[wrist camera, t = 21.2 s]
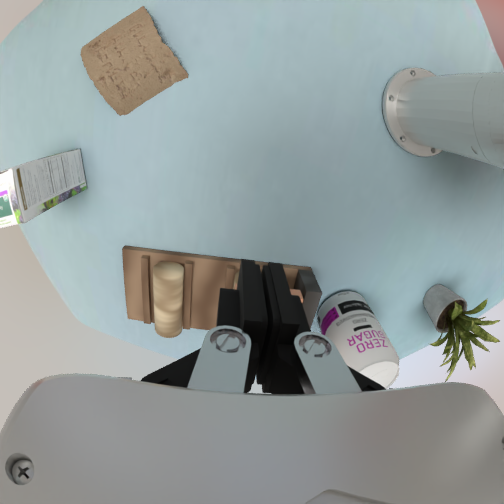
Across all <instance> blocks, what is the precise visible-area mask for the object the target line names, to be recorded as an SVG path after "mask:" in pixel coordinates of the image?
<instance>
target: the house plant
mask: <svg viewBox="0 0 504 504" xmlns="http://www.w3.org/2000/svg"><path fill="white" fill-rule="evenodd" d="M423 304H424V306H425V308H426V310H427V312H428V314H429V316H430V318H431V320H432V322H433V324H434V326H435V328H436V330H437V331H438V332H440V333H446V332H448V333H447V335H446V336H445V337H444V338H442V339H441V336H442V334H441V336H440V338H439V339H438V340H437V341H436V342H434V343H433V344H430V345H432V346H439V345H441V344H442V343H444V342H445V341H446V339H447V338H448V341H447V344H446V347H445V349H444V353H443V354H446V353H447V355H446V358H445V359H444V361H445V360H446V359H447V357H448V356H449V353H450V350H451V348H452V346H453V351H452V352H451V353H453V355H452V356H451V358H450V359H449V360H448V361H446V362H445V363H443V364H442V365H441V366H443V365H445V364H447V363H449V362H450V361H451V360H452V362H451V366H450V368H449V369H448V371H449V370H450V369H451V371H450V373H449V375H448V377H447V379H446V381H447V380H448V378H449V377H450V375H451V374H452V372H453V370H454V368H455V366H456V363H457V361H458V360H459V358H460V356H461V354H462V352H463V350H464V354H465V358H466V360H467V361H468V363H469V367H470V370H471V369H472V366H474V367H476V366H475V360H474V357H473V351H472V347H471V344H470V340H471V341H472V342H473V343H474V344H475V345H476V346H478V347H480V348H482V349H484V350H485V351H488V349H487V348H486V347H485V346H484V345H482V344H481V343H480V342H479V341H478V340H477V339H476V338H475V337H479V338H481V339H482V340H484V341H490V342H495V343H496V342H500V341H499V340H498V339H496V338H495V337H493V336H492V335H491V334H489V333H488V332H486V331H485V330H484V329H482V328H481V327H480V326H477V325H492V324H495V323H497V322H499V321H500V320H496V321H481V320H480V319H483V318H485V317H483V318H480V319H478V318H472V317H468V316H466V315H465V314H475V313H477V312H479V311H481V310H483V309H484V307H485V306H486V304H487V300H485V301H483V302H482V303H481V304H480V305H478V306H477V307H476V308H474V309H473V310H470V311H466V310H467V303H466V301H465V299H463V298H462V297H460V296H458V295H457V294H455V293H454V292H452V291H451V290H449V289H447V288H446V287H444V286H443V285H440V284H437V285H434V286H433V287H431V288H430V289H429V290H428V291H427V293H426V294H425V296H424V300H423ZM454 329H455V336H454ZM470 331H472V332H473V333H474V334H473V333H471V332H470ZM455 337H456V342H455ZM440 339H441V340H440ZM460 339H461V342H462V349H461V352H460V355H459V357H458V353H459V344H460ZM469 339H470V340H469ZM428 344H429V343H428ZM444 361H443V362H444ZM446 381H445V382H446Z"/></svg>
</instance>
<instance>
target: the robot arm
mask: <svg viewBox="0 0 504 504" xmlns="http://www.w3.org/2000/svg"><path fill="white" fill-rule="evenodd" d="M410 73H411V74H410ZM388 97H389V98H390V100H389V98H388ZM382 108H383V116H384V119H385V123H386V126H387V128H388V130H389V132H390V134H391V136H392V137H393V139H394V140H395V141H396V142H397V144H398V145H399V146H400V147H402V148H403V149H404V150H406V151H407V152H409V153H411V154H414V155H417V156H422V157H429V156H434V155H437V154H439V153H440V152H442V151H447V152H451V153H454V154H458V155H461V156H465V157H468V158H472V159H475V160H478V161H481V162H484V163H487V164H490V165H493V166H496V167H499V168H502V169H504V73H468V74H453V75H442V76H436V75H434V74H433V73H431V72H430V71H427V70H425V69H422V68H408V69H404V70H401V71H399V72H397V73H396V74H395V75H394V76H393V77H391V79H390V80H389V82H388V83H387V85H386V88H385V90H384V95H383V106H382ZM400 137H401V139H400ZM255 376H256V378H257V384H262V391H263V393H271V394H255V393H248V392H249V391H250V390H251V386H252V384H253V383H254V380H255ZM0 504H504V416H503V414H502V412H501V411H500V409H499V408H498V406H497V405H496V403H495V402H494V401H493V399H492V398H491V397H490V396H489V394H488V393H487V392H486V391H485V390H483V389H482V388H480V387H477V386H474V385H471V384H466V383H456V382H449V383H436V384H428V385H420V386H413V387H405V388H396V389H393V388H389V389H387V390H386V389H385V388H384V387H383V386H382V385H380V384H379V383H377V382H375V381H373V380H371V379H370V378H368V377H366V376H364V375H363V374H361V373H359V372H358V371H356V370H354V369H352V368H351V367H349V366H347V365H346V363H345V361H344V359H343V358H342V356H341V354H340V353H339V351H338V349H337V348H336V346H335V344H334V343H333V342H332V340H331V339H329V338H328V337H327V336H325V335H323V334H320V333H317V332H311V330H310V327H309V324H308V320H307V317H306V314H305V311H304V308H303V305H302V302H301V299H300V297H299V296H298V295H291V292H290V288H289V285H288V281H287V278H286V275H285V271H284V268H283V265H282V264H281V263H272V262H269V263H268V265H263V267H262V272H261V270H260V265H259V264H255V261H254V260H246V259H241V264H240V270H239V277H238V284H237V290H236V289H227V288H220V292H219V301H218V311H217V321H216V327H215V328H212V329H211V330H209V331H208V333H207V334H206V336H205V339H204V341H203V344H202V347H201V348H200V349H198V350H197V351H195V352H193V353H191V354H189V355H187V356H185V357H183V358H181V359H179V360H177V361H175V362H173V363H171V364H169V365H167V366H165V367H163V368H161V369H159V370H157V371H155V372H153V373H151V374H148V375H147V376H145V377H144V378H142V380H141V381H136V380H132V378H127V377H126V378H125V377H124V378H123V377H121V378H120V377H111V376H104V375H95V374H60V375H54V376H49V377H45V378H43V379H40V380H38V381H36V382H35V383H33V384H32V385H31V386H30V387H29V388H28V389H27V390H26V391H25V392H24V393H23V395H22V396H21V398H20V399H19V400H18V402H17V403H16V404H15V406H14V408H13V409H12V411H11V413H10V415H9V416H8V418H7V420H6V422H5V424H4V427H3V428H2V431H1V433H0Z"/></svg>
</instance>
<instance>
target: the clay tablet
mask: <svg viewBox="0 0 504 504" xmlns="http://www.w3.org/2000/svg"><path fill="white" fill-rule="evenodd" d="M146 11H147V9H145V8H144V6H143V7H141V8H140V9H138V10H137V11H135V12H133V13H132V14H130V15H129V16H127V17H126V18H124V19H122V20H121V21H119V22H118V23H117V24H115V25H113V26H112V27H110V28H109V29H107V30H106V31H104V32H103V33H101V34H100V35H99V36H97V37H96V38H95V39H93V40H92V41H90V42H89V43H88V44H86V45H85V46H83V47H82V49H81V57H82V61H83V63H84V66H85V67H86V70H87V73H88V75H89V77H90V79H91V80H93V82H94V85H95V86H96V88H97V89H98V90H99V93H100V94H101V95H102V96H103V97H104V99H105V100H106V102H107V103H108V104H109V105H110V106H111V107H112V108H113V109H114V110H116V112H117V114H119V115H120V116H121V115H127V114H129V113H130V112H131V111H133V110H134V109H135V108H137V107H138V106H140V105H141V104H143V103H144V102H145V101H147V100H149V99H151V98H152V97H154V96H155V95H157V94H158V93H160V92H162V91H163V90H165V89H166V88H168V87H170V86H172V85H173V84H174V83H175V82H178V81H181V80H183V79H185V78H188V73H187V72H186V71H185V70H184V69H183V67H182V66H181V65H180V62H179V61H178V58H177V57H174V54H173V52H172V51H171V50H170V48H169V47H168V46H166V45H165V44H164V43H162V41H161V37H160V36H159V34H158V33H157V29H156V28H155V26H154V25H153V24H154V22H153V21H152V18H151V17H150V15H149V13H148V12H146Z"/></svg>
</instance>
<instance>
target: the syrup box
mask: <svg viewBox="0 0 504 504" xmlns="http://www.w3.org/2000/svg"><path fill="white" fill-rule="evenodd" d="M85 189H87V185H86V180H85V175H84V169H83V163H82V157H81V151H80V149H76V150H71V151H67V152H63V153H59V154H56V155H52V156H48V157H44V158H41V159H37V160H34V161H30V162H27V163H24V164H21V165H18V166H15V167H12V168H9V169H6V170H3V171H1V172H0V228H3V227H8V226H12V225H17V224H22V223H26V222H28V221H30V220H31V219H33V218H34V217H36V216H38V215H40V214H41V213H43V212H45V211H47V210H48V209H50V208H52V207H54V206H55V205H57V204H59V203H61V202H63V201H65V200H66V199H68V198H70V197H72V196H74V195H76V194H78V193H80V192H81V191H83V190H85Z"/></svg>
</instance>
